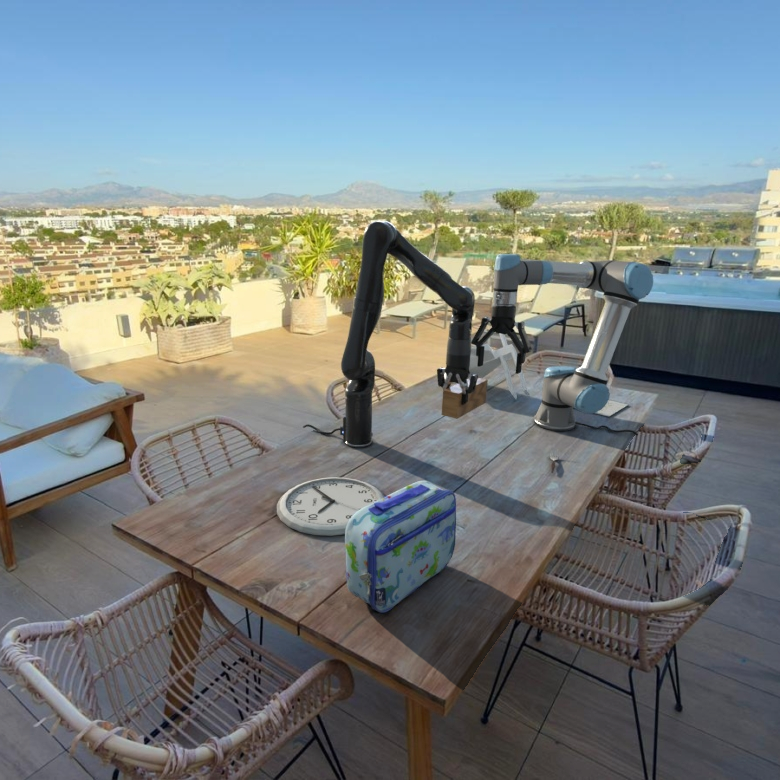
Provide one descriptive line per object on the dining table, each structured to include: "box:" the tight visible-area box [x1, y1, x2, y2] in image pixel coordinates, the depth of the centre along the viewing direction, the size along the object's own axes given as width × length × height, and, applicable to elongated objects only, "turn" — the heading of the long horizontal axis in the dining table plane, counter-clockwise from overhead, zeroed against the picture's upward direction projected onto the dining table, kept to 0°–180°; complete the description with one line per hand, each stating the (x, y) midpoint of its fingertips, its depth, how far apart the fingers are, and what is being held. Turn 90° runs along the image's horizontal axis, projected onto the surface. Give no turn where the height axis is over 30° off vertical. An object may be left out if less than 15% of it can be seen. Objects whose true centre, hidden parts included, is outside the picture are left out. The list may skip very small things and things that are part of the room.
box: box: [441, 378, 489, 420], centre depth 175 cm, size 21×6×8 cm, turn 144°
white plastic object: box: [444, 333, 531, 400], centre depth 245 cm, size 37×45×31 cm
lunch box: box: [344, 480, 457, 614], centre depth 109 cm, size 26×11×21 cm, turn 135°
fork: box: [549, 449, 560, 474], centre depth 170 cm, size 3×16×2 cm, turn 160°
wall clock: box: [276, 476, 386, 537], centre depth 142 cm, size 30×2×30 cm
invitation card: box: [595, 399, 629, 418], centre depth 226 cm, size 21×1×15 cm
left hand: (455, 401), depth 170 cm, fingers closed on box, 5 cm apart
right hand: (498, 369), depth 172 cm, fingers open, 13 cm apart
